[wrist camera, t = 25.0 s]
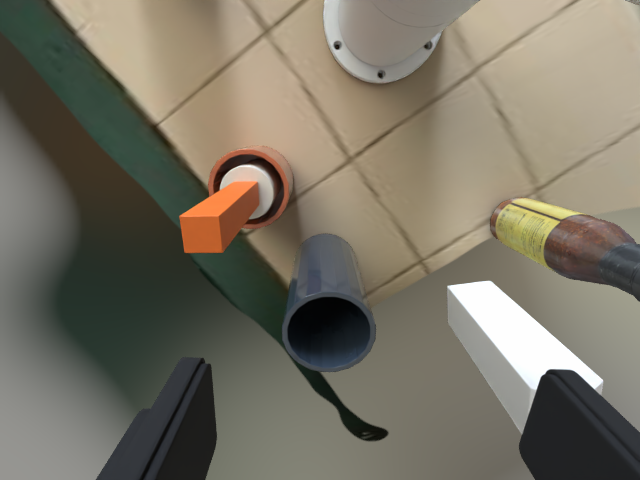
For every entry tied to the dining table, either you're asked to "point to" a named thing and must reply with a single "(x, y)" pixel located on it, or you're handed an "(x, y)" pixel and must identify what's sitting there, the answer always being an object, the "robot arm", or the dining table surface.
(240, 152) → the brush holder
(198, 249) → the brush
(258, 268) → the dining table surface
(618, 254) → the sauce bottle
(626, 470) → the robot arm
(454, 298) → the milk
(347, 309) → the dark blue cylindrical vase
